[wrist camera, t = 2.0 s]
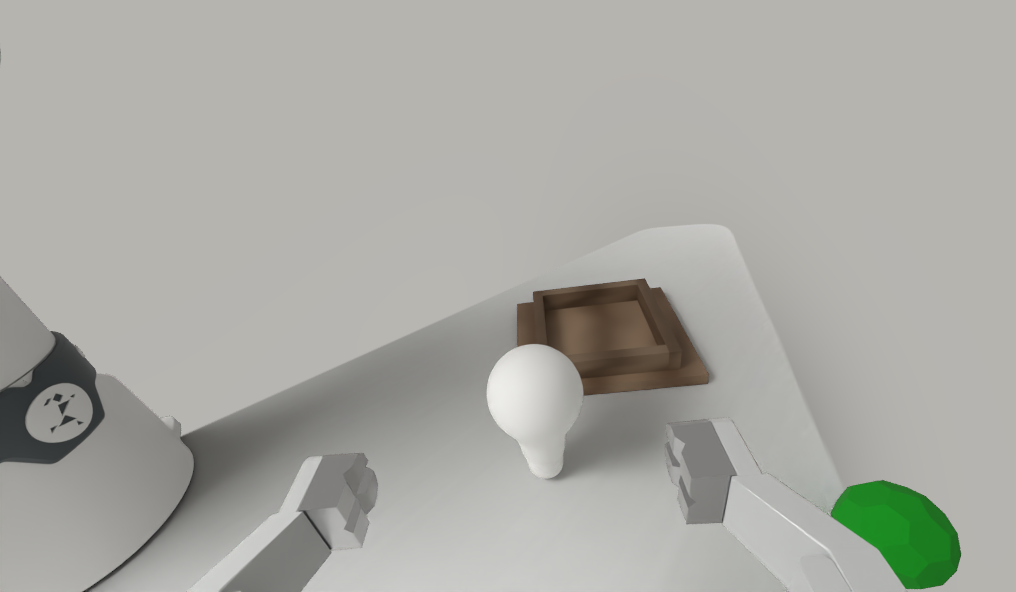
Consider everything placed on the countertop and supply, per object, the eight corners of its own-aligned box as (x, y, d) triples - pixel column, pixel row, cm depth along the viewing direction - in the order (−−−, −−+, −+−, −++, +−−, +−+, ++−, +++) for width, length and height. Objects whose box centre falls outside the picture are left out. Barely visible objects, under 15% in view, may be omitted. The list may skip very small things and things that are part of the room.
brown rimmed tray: (519, 401, 37) (514, 376, 36) (518, 311, 49) (514, 289, 48) (707, 383, 36) (711, 356, 34) (660, 294, 48) (661, 271, 46)
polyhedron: (960, 576, 22) (1003, 526, 20) (898, 626, 21) (935, 579, 19) (859, 498, 26) (884, 448, 24) (802, 536, 25) (822, 487, 23)
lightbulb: (495, 501, 30) (463, 387, 24) (517, 431, 35) (495, 322, 29) (583, 517, 28) (571, 398, 22) (593, 441, 33) (586, 327, 27)
